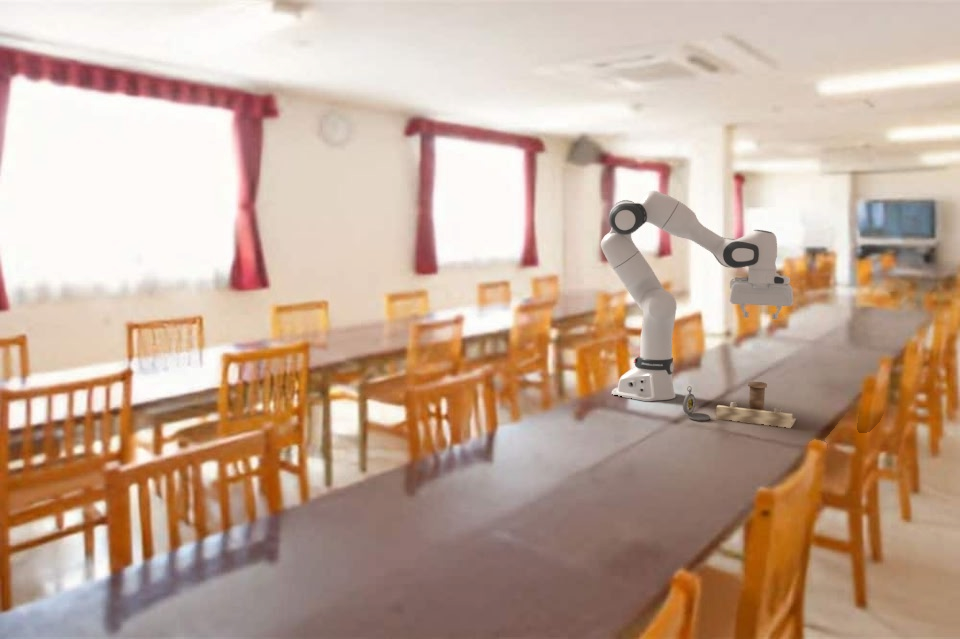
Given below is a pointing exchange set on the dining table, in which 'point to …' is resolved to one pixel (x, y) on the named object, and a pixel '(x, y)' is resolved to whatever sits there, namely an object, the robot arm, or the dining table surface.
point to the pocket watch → (691, 402)
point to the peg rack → (755, 415)
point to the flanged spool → (757, 395)
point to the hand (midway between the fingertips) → (760, 318)
